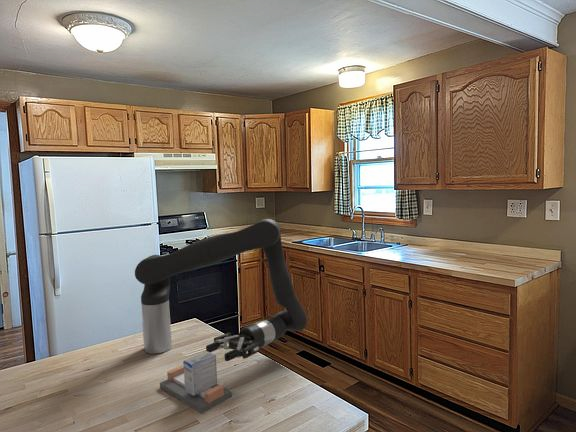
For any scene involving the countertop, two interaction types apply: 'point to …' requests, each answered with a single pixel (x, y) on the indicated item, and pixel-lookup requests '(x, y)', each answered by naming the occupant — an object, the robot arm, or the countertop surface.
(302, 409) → the countertop surface
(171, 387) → the rail panel
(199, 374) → the medicine box
